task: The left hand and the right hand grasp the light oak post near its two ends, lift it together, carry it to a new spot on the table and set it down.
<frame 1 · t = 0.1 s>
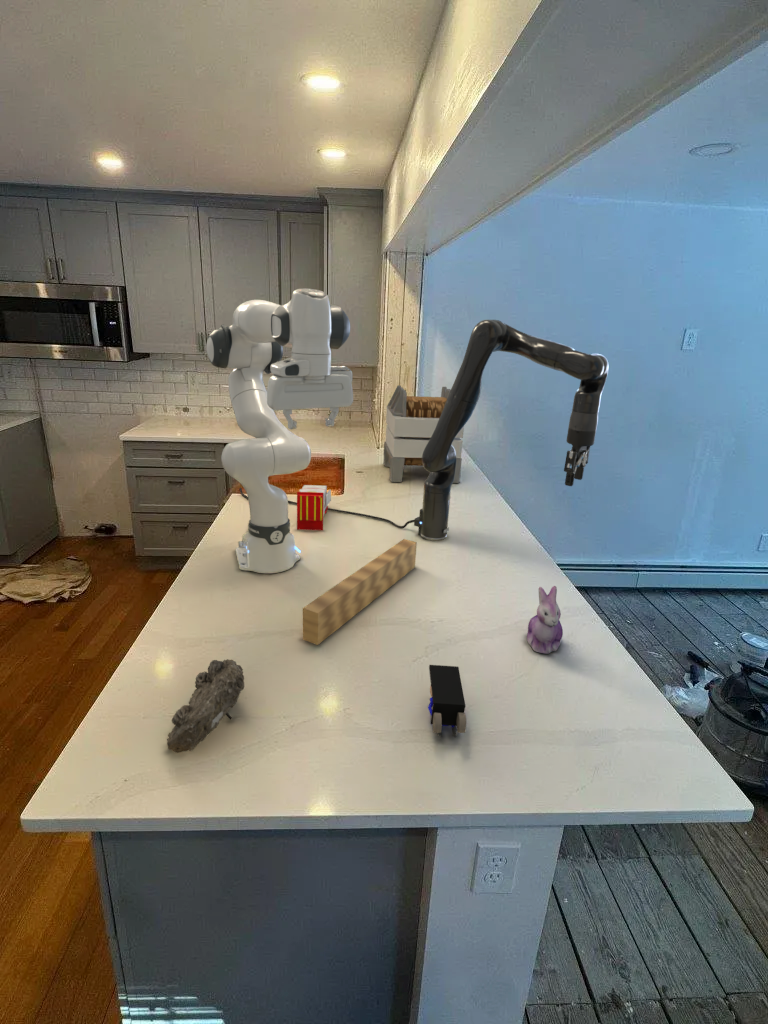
left hand: (311, 427, 132), 48 cm above the counter, tool pointing down, fingers open, 8 cm apart
right hand: (573, 482, 165), 29 cm above the counter, tool pointing down, fingers open, 8 cm apart
figurine: (544, 644, 137), on the counter
black wheeled block: (444, 718, 111), on the counter
toy: (313, 517, 212), on the counter
fossil: (212, 717, 108), on the counter
grey slatted crate: (419, 473, 275), on the counter
post: (366, 598, 154), on the counter
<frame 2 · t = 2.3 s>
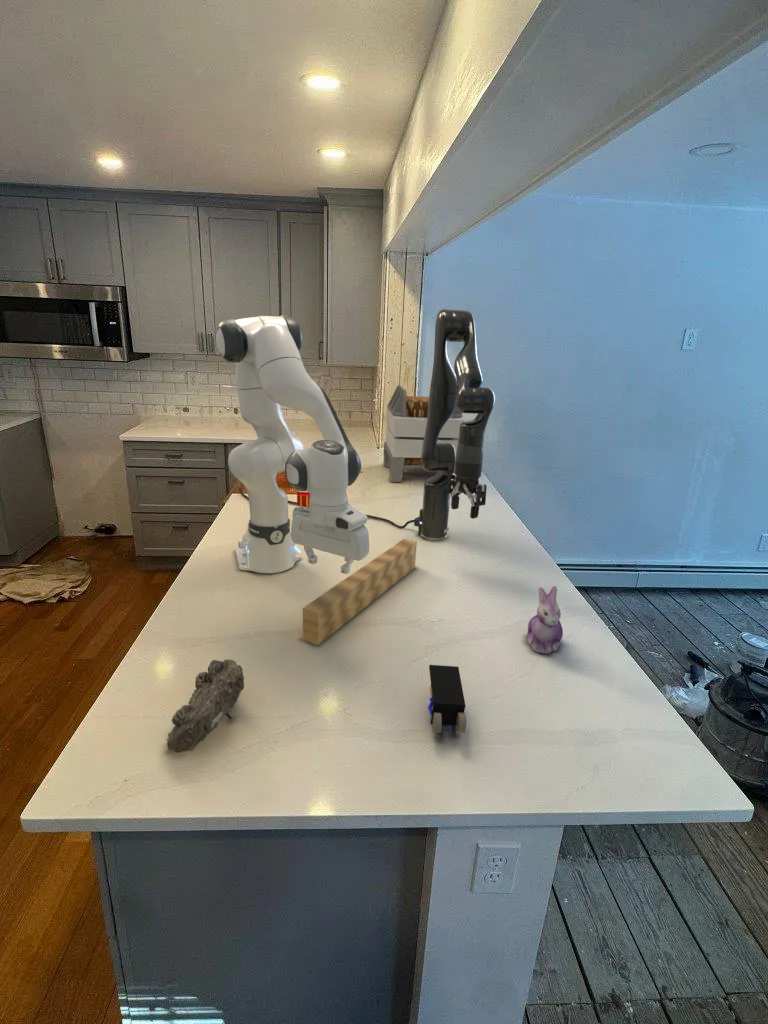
left hand: (328, 567, 134), 16 cm above the counter, tool pointing down, fingers open, 8 cm apart
right hand: (464, 513, 165), 20 cm above the counter, tool pointing down, fingers open, 8 cm apart
nothing on the counter moved.
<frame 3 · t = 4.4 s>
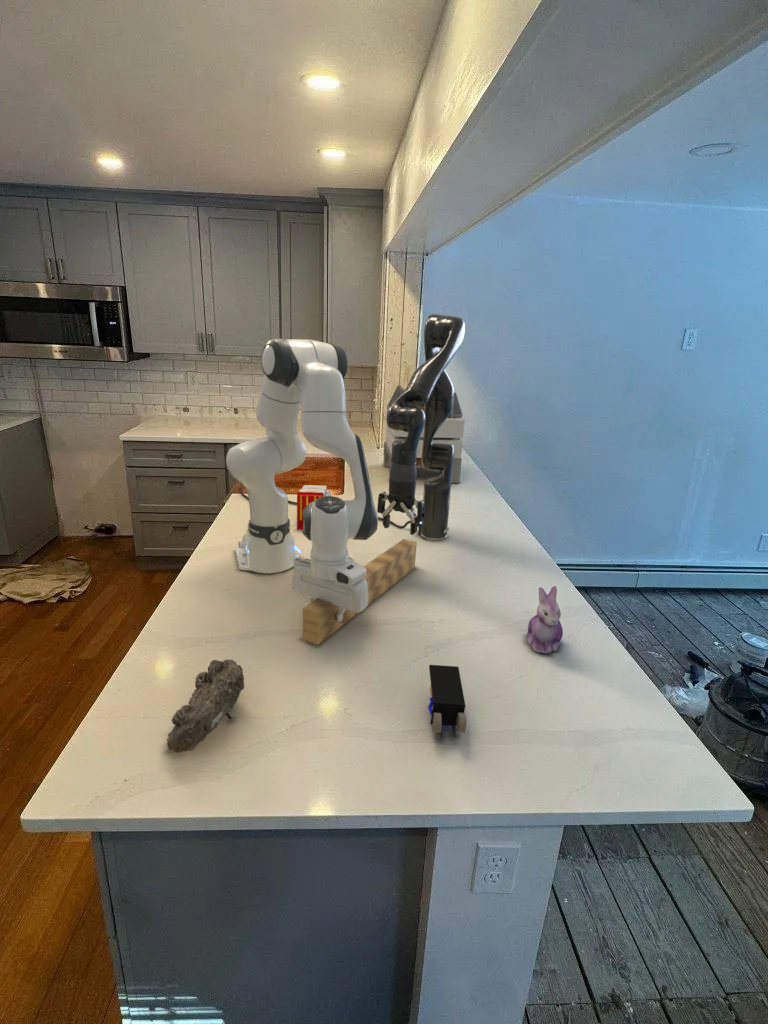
left hand: (328, 616, 139), 3 cm above the counter, tool pointing down, fingers closed on post, 4 cm apart
right hand: (399, 530, 165), 14 cm above the counter, tool pointing down, fingers open, 8 cm apart
post: (366, 598, 154), on the counter, touching left hand
everything else where it was.
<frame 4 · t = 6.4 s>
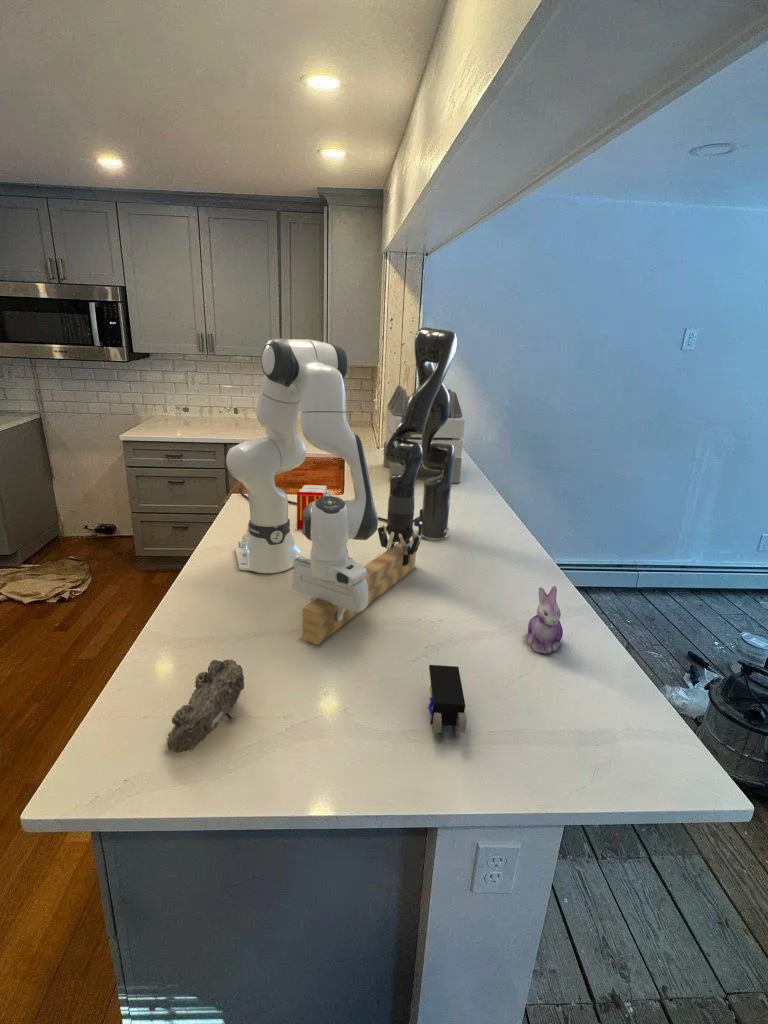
left hand: (328, 616, 139), 3 cm above the counter, tool pointing down, fingers closed on post, 4 cm apart
right hand: (397, 562, 168), 4 cm above the counter, tool pointing down, fingers closed on post, 4 cm apart
post: (366, 598, 154), on the counter, touching right hand, left hand
everything else where it was.
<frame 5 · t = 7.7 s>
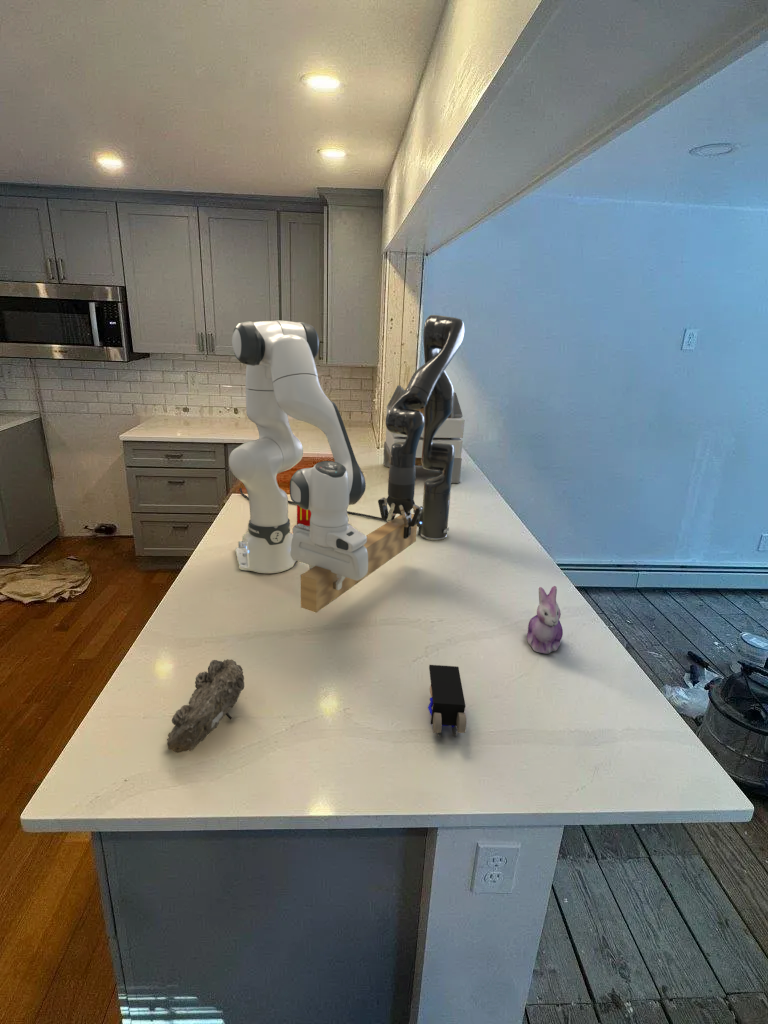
left hand: (327, 585, 136), 12 cm above the counter, tool pointing down, fingers closed on post, 4 cm apart
right hand: (398, 535, 165), 13 cm above the counter, tool pointing down, fingers closed on post, 4 cm apart
post: (365, 570, 152), point 9 cm above the counter, touching right hand, left hand
everything else where it was.
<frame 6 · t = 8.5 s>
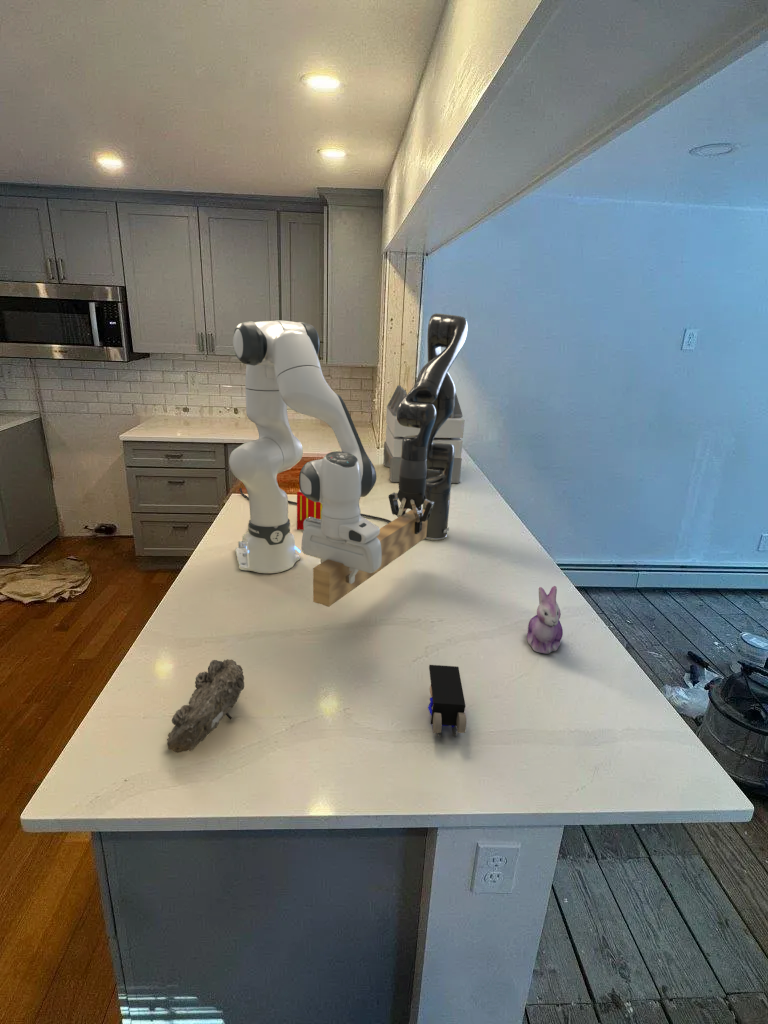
left hand: (339, 579, 133), 14 cm above the counter, tool pointing down, fingers closed on post, 4 cm apart
right hand: (409, 531, 163), 15 cm above the counter, tool pointing down, fingers closed on post, 4 cm apart
post: (377, 565, 149), point 11 cm above the counter, touching right hand, left hand
everything else where it was.
when the left hand's fingers open (4 cm above the counter, at t = 11.1 s): post stays where it is, on the counter.
when the right hand's fingers open (5 cm above the counter, at t = 11.1 s): post stays where it is, on the counter.
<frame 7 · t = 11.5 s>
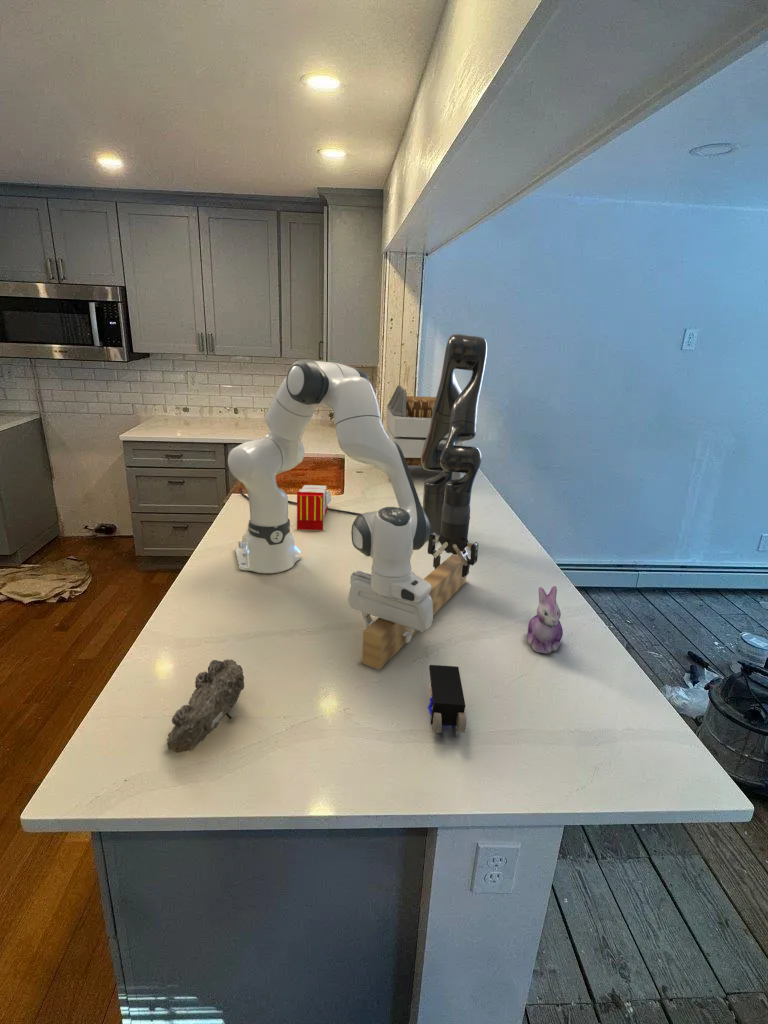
left hand: (387, 634, 130), 4 cm above the counter, tool pointing down, fingers open, 8 cm apart
right hand: (450, 572, 159), 6 cm above the counter, tool pointing down, fingers open, 8 cm apart
post: (421, 617, 146), on the counter
everything else where it was.
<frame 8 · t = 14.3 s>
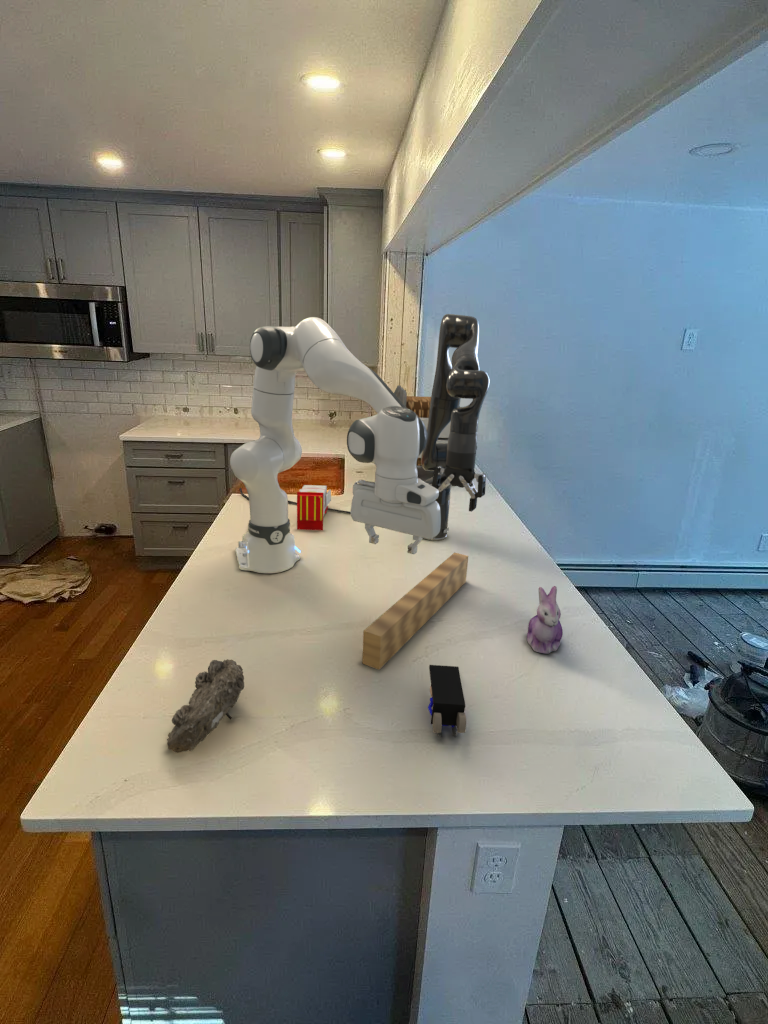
left hand: (392, 547, 122), 26 cm above the counter, tool pointing down, fingers open, 8 cm apart
right hand: (456, 507, 153), 25 cm above the counter, tool pointing down, fingers open, 8 cm apart
nothing on the counter moved.
at the end: post inside the target area (0.2 cm from its centre), on the counter; post tilted 0°; post never tilted more than 1° during the clip; both hands held the post at the same time; the left hand is holding nothing; the right hand is holding nothing; post at rest at the end (0.0 cm/s) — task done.
